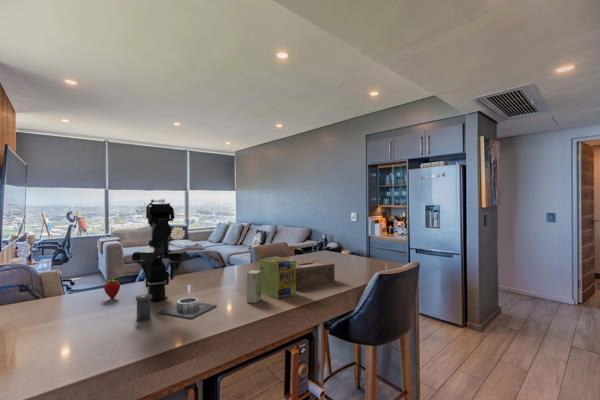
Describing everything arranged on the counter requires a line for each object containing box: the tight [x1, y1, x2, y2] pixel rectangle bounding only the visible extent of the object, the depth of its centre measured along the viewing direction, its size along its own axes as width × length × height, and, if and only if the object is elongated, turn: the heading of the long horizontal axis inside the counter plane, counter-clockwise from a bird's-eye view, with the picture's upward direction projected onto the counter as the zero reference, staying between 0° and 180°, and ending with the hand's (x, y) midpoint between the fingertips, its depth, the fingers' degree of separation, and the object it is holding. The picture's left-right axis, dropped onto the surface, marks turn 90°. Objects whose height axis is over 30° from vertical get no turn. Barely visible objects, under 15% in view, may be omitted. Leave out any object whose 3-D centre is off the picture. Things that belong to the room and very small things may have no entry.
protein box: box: [258, 256, 297, 300], centre depth 136 cm, size 10×15×16 cm
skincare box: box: [246, 269, 262, 304], centre depth 124 cm, size 6×4×12 cm
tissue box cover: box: [296, 259, 336, 290], centre depth 154 cm, size 26×14×10 cm, turn 119°
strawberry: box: [103, 276, 121, 300], centre depth 127 cm, size 6×8×10 cm
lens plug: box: [135, 293, 152, 322], centre depth 104 cm, size 5×5×8 cm
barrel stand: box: [157, 296, 218, 320], centre depth 113 cm, size 16×14×4 cm
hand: (160, 279), depth 107 cm, fingers open, 9 cm apart
